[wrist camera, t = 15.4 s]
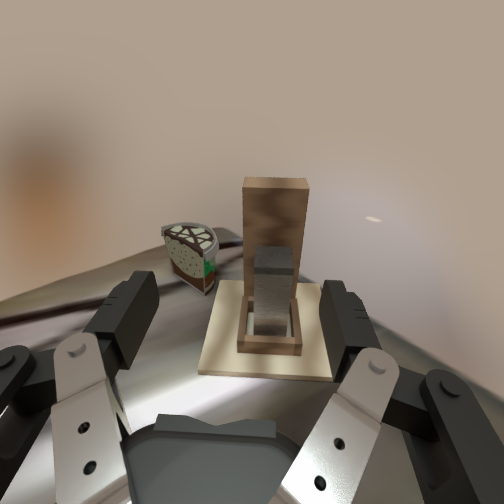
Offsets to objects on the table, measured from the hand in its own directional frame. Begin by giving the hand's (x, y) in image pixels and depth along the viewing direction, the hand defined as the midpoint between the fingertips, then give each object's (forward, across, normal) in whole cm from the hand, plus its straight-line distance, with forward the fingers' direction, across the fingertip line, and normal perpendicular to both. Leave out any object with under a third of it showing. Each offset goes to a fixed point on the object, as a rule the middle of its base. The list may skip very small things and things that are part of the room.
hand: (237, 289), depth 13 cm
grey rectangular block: (+17, -3, +23) cm, 28 cm away
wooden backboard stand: (+19, -3, +24) cm, 30 cm away
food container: (+30, +10, +24) cm, 40 cm away
